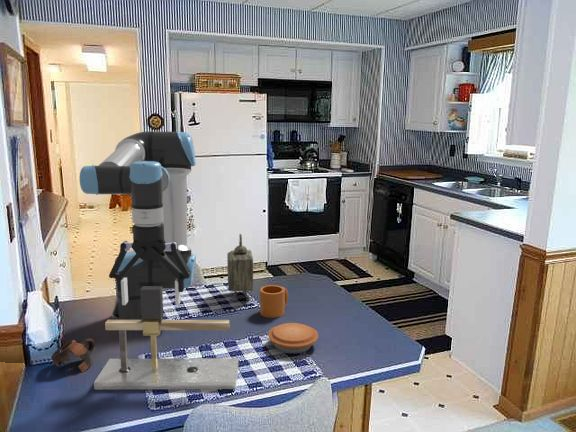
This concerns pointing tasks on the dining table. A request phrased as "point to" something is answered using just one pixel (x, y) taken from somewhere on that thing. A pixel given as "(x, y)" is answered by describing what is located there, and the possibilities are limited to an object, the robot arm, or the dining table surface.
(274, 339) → the pie
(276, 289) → the mug
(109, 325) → the bar
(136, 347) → the dining table surface
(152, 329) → the block
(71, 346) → the broken clay pot
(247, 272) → the tabletop clock
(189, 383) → the hole plate
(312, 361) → the dining table surface
